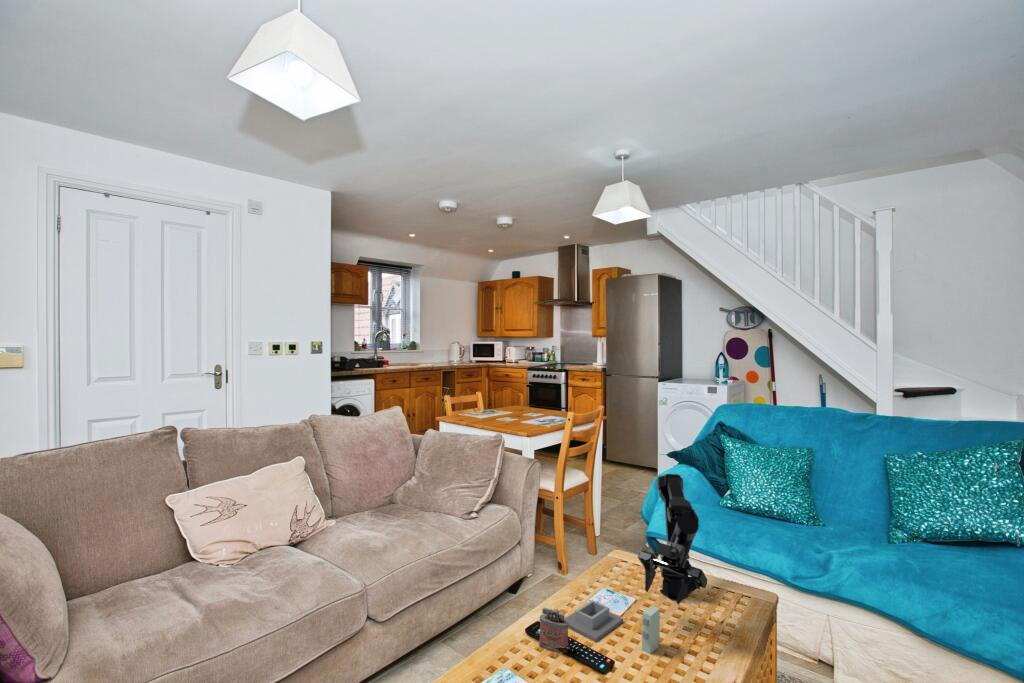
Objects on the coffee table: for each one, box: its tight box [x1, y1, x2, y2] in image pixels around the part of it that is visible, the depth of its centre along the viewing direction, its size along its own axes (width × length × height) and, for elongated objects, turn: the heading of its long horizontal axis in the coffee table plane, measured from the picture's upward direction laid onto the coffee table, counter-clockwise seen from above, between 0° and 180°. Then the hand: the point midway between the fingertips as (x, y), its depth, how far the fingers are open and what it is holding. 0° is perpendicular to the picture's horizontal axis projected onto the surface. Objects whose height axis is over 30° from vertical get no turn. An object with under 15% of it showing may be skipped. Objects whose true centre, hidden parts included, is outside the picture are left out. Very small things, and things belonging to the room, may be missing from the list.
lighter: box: [538, 607, 569, 654], centre depth 131 cm, size 8×3×10 cm, turn 65°
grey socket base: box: [564, 599, 624, 643], centre depth 143 cm, size 12×14×4 cm
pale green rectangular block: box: [641, 605, 661, 655], centre depth 131 cm, size 2×6×10 cm, turn 136°
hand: (661, 597), depth 135 cm, fingers open, 9 cm apart
